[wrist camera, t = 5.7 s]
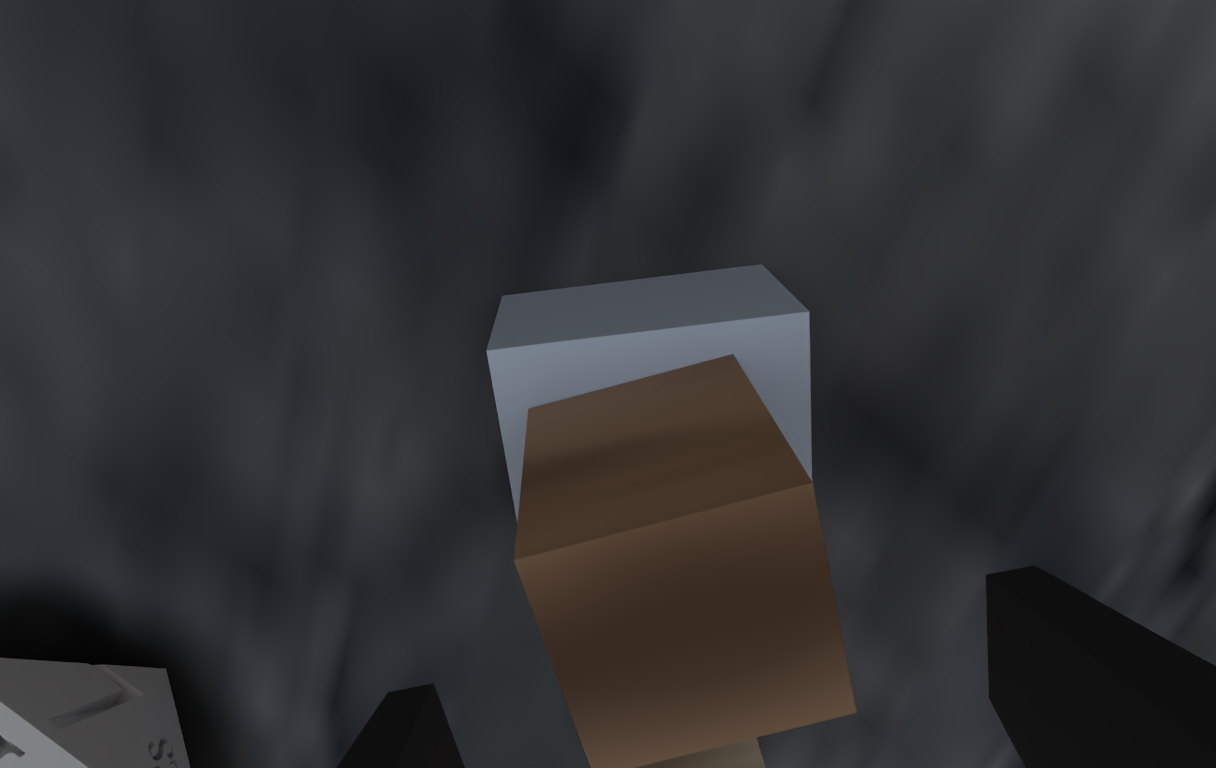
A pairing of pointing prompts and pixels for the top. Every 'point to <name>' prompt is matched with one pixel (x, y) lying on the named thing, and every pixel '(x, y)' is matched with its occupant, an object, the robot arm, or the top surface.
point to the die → (87, 716)
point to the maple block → (718, 757)
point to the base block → (650, 345)
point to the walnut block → (677, 567)
